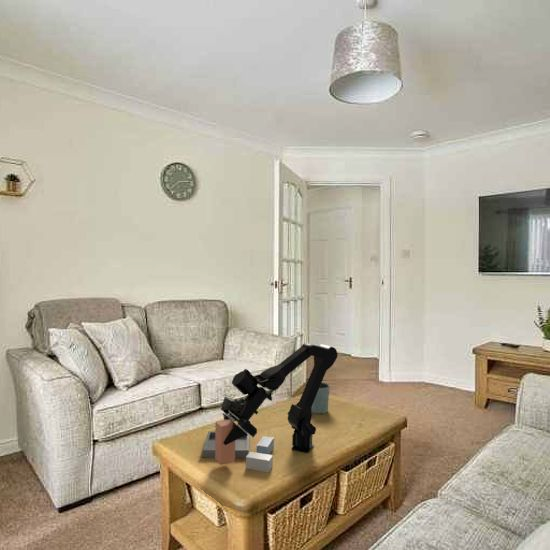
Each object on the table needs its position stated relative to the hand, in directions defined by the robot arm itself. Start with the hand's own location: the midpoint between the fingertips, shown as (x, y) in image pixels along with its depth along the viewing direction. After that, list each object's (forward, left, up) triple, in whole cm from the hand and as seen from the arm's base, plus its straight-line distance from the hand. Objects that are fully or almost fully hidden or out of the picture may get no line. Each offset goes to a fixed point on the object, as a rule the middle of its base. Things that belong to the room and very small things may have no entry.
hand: (221, 441), depth 133 cm
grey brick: (-11, -6, -9) cm, 16 cm away
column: (-1, -1, -7) cm, 7 cm away
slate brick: (-8, -17, -9) cm, 21 cm away
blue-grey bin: (-12, -66, -9) cm, 67 cm away
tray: (+6, -14, -9) cm, 17 cm away
